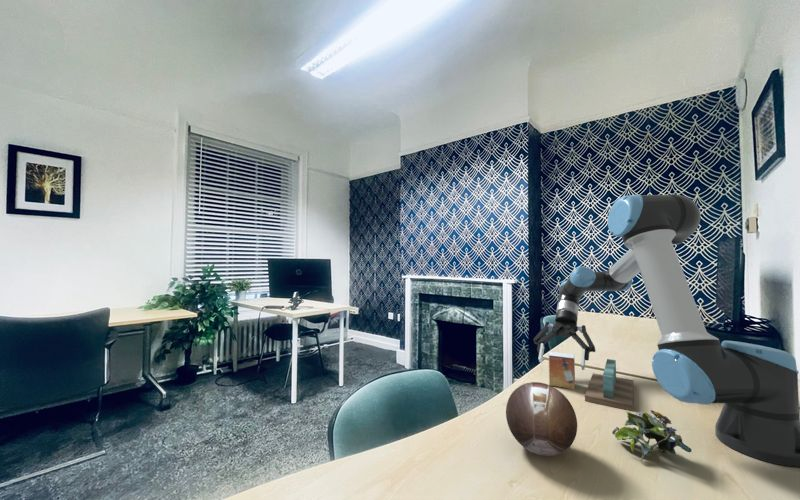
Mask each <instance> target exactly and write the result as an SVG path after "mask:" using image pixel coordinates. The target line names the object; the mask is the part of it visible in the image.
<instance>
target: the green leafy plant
mask: <svg viewBox="0 0 800 500" xmlns="http://www.w3.org/2000/svg"><path fill="white" fill-rule="evenodd" d="M650 412H651V414H653V415H651V414H649V413H648V412H646V411H644V412H640V411H638V412H636V413H632V412H630V410H626V414H627V416H626V417H627V420H626V421H625V423H624V426H623V427H621V428H619V427H617V426H615V428H614V429H613V430H612V431H611V432H612V434H613V435H614V437H615V438H616V439H617V440H618V441H621V439H622V440H624V441H626V440H631V441H630V447H629V448H630V449H631V452H632V453H634V452H635V448H636V447H635V446H636V444H638V443H639V444H640V445H641V446H640V449H641V451H642V454H641V456H640V458H642V459H644V457H646V455H647V454H648V453H649V452H652V451H653V448H655V447H656V446H657V447H658V449H659V450H660V449H661V450H663V451H666V452H669V453H671V454H673V455H675V456H676V450H675V448H676V447H679V448H680V449H682V450H683V451H686V452H687V453H692V448H691V447H689V446H688V445H686V444H685V443H684V442H683V438H682V436H681V434H680V435H679V434H676V432H677V431H678V430H677V429H676V428H673V427H672V426H667V425H672V421H671V419H669V418H668V416H666V415H664V414H662V413H661V412H659V411H655V410H650ZM629 426H634V427H629ZM635 426H636V427H635ZM637 427H638V429H637ZM644 437H645V438H647V439H648V441H647V440H645V438H644ZM640 440H641V441H640ZM650 440H655V442H656V443H654V444H652V445H650V444H649V443H650ZM661 450H660V451H661ZM663 451H662V452H663Z"/></svg>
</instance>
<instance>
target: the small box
mask: <svg viewBox="0 0 800 500" xmlns="http://www.w3.org/2000/svg"><path fill="white" fill-rule="evenodd" d="M575 365H576V364H575V354H574V353H565V352H564V353H563V352H555V351H549V355H548V385H550V386H552V387H558V388H565V389H568V390H576V370H575V369H576V366H575Z"/></svg>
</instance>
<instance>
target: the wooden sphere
mask: <svg viewBox="0 0 800 500" xmlns="http://www.w3.org/2000/svg"><path fill="white" fill-rule="evenodd" d="M505 417H506V422H507V423H506V424H507V426H508V430H509V431H510V433H511V435H512V437H514V439H515V440H516V441H517V443H519V445H521V446H522V447H523V448H524V449H525V450H527V451H528V452H530V453H533V454H535V455H539V456H543V457H545V456H546V457H552V456H553V457H554V456H557V455H560V454H562V453H564V452H566V451H567V450H568V449H570V447H571V446H572V445H573V443H574V441H575V440H576V436H577V432H578V419H577V415H576V412H575V409H574V406H573V405H572V403H571V402H570V401H569V399H568V398H567V396H565V394H564V393H562V392H561V391H560V390H559V389H557V388H555V386H551V385H549V383H544V382H536V381H533V382H532V381H531V382H527V383H526V382H525V383H524V384H521V385H519V386H518V387H516V388H515V389H514V390H513V391H512V392H511V394H510V396H509V398H508V399H507V402H506V407H505Z"/></svg>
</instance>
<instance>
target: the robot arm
mask: <svg viewBox="0 0 800 500" xmlns="http://www.w3.org/2000/svg"><path fill="white" fill-rule="evenodd" d="M701 215H702V214H701V209H700V208H699V207H698V205H697V203H696V202H694V200H692V199H691V198H689V197H687V196H684V195H681V194H675V193H674V194H649V195H648V194H645V195H644V194H643V195H642V194H634V195H632V194H631V195H624V196H621V197H619V198H618V199H617V200H615V202H614V203H613V204H612V206H611V208H610V210H609V213H608V216H607V229H608V230H609V233H610V234H611V235H613V236H614V237H617V238H622V242H623V245H624V247H625V248H626V249H628V250H627V251H626V252H625V253H624V254H623V255H622V256H621V257H620V258H619V259H618V260H617V261H616V262H615V263H614V264H612V266H611V267H610V268H608V270H606V271H594V270H593V269H592V268H590V267H586V266H581V265H580V266H578V267H576V268H575V269H574V270H573V271H572V273H570V276H569V277H568V279H567V280H563V281H562V282H561V283H560V287H559V290H558V299H557V305H556V313H555V318H554V319H555V320H554V323H551V322H549V321H545V324H544V326H543V327H542V328H541V329H540V331H539V332H538V333H537V334H536V335H535V336H534V338H533V343H534V344H535V345H537V347H536V350H537V351H536V352H537V353H538V358H537V359H538V362H539V363H540V364H542V363H543V360H544V352H545V345H547V343H549V342H550V341H552V340H553V339H554V338H557V337H559V336H560V337H565V338H571V337H572V339H573V340H574V341H576V343H577V344H578V345H579V346H580V347H581V348H582V350H581V362H580V367H581V370H583V371H584V370H585V368H586V366H585V365H586V361H589V359H590V353H596V346H595V343H593V341H592V338H591V337H590V335H589V333H588V332H587V328H586V325H584V324H583V325H581V326H578V315H579V308H580V307H579V305H580V300H581V298H582V297H583V296H584V295H585V294H586V292H622V291H623V292H624V291H628V290H630V289H631V288H632V285H633V279H634V278H635V277H636V276H637V275H638V274H640V276H641V278H642V280H643V281H642V282H643V284H644V288H645V290H646V293H647V296H648V299H649V302H650V304H651V308H652V311H653V313H654V316H655V320H656V323H657V327H658V328H659V331H660V335H661V338H659V340H658V342H657V343H656V346H657V348H658V351H656V352H655V353H653V356H652V361H651V367H652V373H653V374H654V377H655V379H656V380H657V382H658V383H659V385H660V387H661V388H663V390H664V391H665V392H666V393H668V394H669V395H670V396H671V397H673V398H674V399H675V400H678V401H680V402H683V403H687V404H698V405H710V404H723V406H722V409H721V411H720V413H719V416H718V418H717V420H716V423H715V425H714V429H715V430H714V431H715V436H716V438H717V439H718V440H719V441H720V443H722V444H724V445H726V446H727V447H729V448H731V449H732V450H734V451H736V452H739V453H742V454H744V455H747V456H749V457H752V458H755V459H757V460H761V461H764V462H768V463H772V464H776V465H781V466H787V467H794V468H800V403H799V402H800V401H799V377H798V374H799V370H798V367H797V366H798V365H797V360H796V358H795V356H793V354H791V353H789V352H787V351H784V350H782V349H778V348H773V347H769V346H764V345H760V344H755V343H754V344H753V343H748V342H742V341H734V340H723V341H720V338H718V337H717V336H714V335H712V334H710V333H709V332H708V331H707V329H706V326H705V324H704V321H703V318H702V317H701V314H700V311H699V308H698V306H697V303H696V302H695V298H694V296H693V292H692V291H691V289H690V285H689V283H688V281H687V278H686V275H685V273H684V270H683V268H682V265H681V263H680V259H679V258H678V255H677V253H676V250H675V247H674V245H675V246H677V245H680V244H683V243H684V242H685V241H686V240H688V239H690V237H691V236H692V235H693V234H694V233H695V232H696V230H697V229H698V227H699V225H700V222H701ZM549 331H550V332H549ZM578 331H579V332H580V333H581V334H582V336H583V338H584V340H585V342H586V343H587V344H586V343H585V342H584V340H583V339H582V338H581V337H580V336H579V335H578V334H577V332H578Z"/></svg>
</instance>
